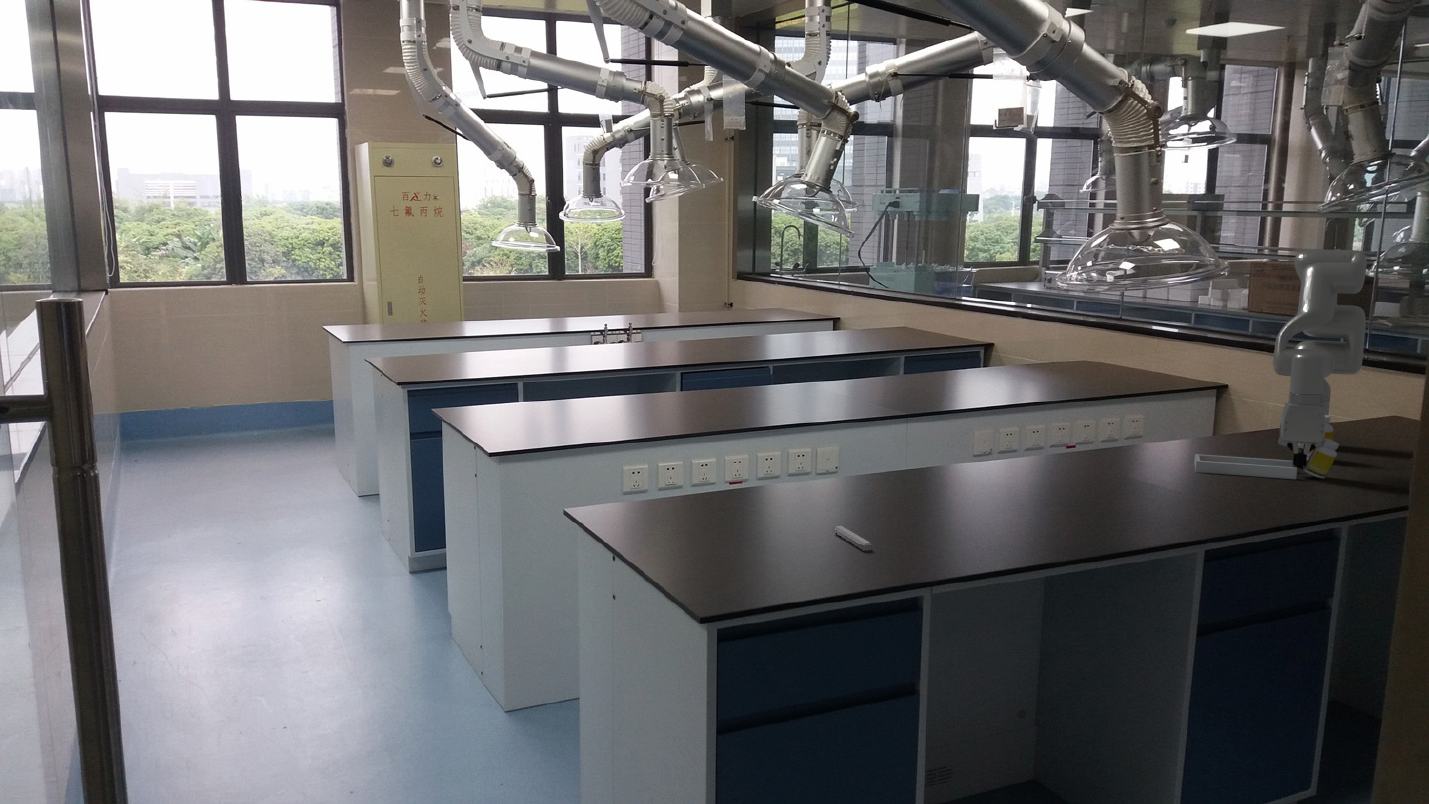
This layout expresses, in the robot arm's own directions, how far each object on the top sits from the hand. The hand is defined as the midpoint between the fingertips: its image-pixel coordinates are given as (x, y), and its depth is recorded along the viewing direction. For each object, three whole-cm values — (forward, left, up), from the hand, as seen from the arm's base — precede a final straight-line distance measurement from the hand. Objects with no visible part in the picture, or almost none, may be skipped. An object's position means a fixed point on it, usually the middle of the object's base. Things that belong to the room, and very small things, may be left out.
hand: (1298, 467), depth 272 cm
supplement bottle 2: (0, +3, -2) cm, 4 cm away
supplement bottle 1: (-22, +7, -3) cm, 23 cm away
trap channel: (-1, -13, -2) cm, 13 cm away
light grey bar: (+93, -97, -3) cm, 134 cm away
